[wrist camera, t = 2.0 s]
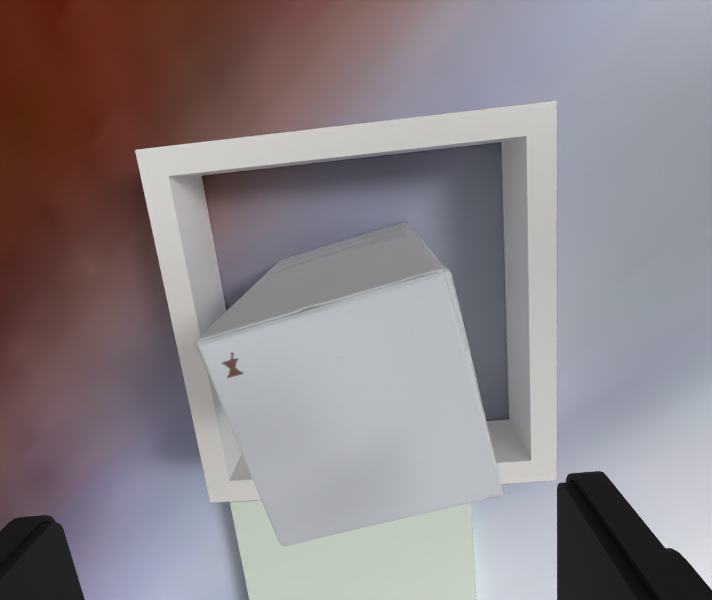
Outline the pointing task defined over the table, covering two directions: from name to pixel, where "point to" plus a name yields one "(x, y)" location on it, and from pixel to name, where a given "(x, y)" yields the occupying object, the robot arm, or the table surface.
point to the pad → (361, 559)
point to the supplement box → (353, 387)
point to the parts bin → (503, 124)
